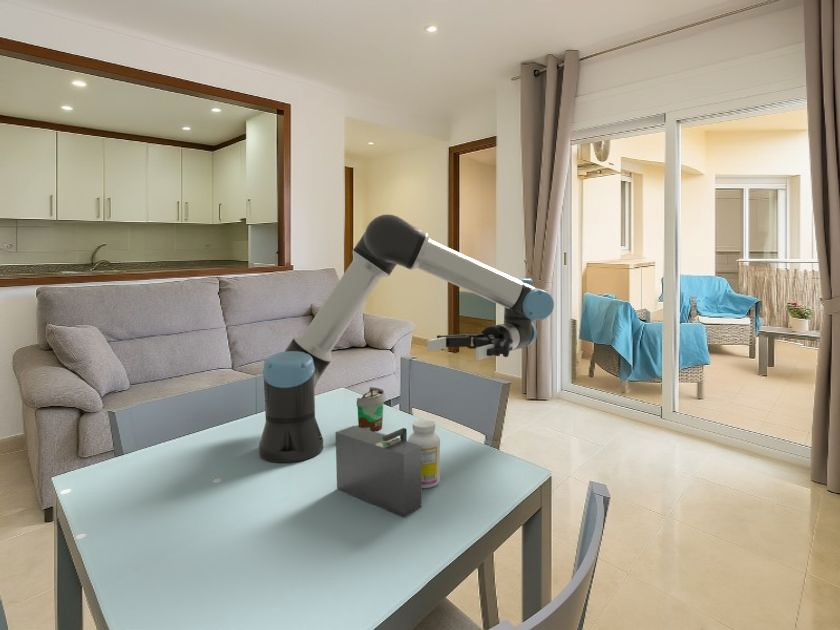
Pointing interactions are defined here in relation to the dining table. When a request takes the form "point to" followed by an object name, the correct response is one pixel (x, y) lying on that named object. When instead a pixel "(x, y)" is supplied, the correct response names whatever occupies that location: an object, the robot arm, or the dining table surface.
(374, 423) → the food container
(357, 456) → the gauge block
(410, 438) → the supplement bottle
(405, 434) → the pale blue square panel
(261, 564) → the dining table surface
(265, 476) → the dining table surface
